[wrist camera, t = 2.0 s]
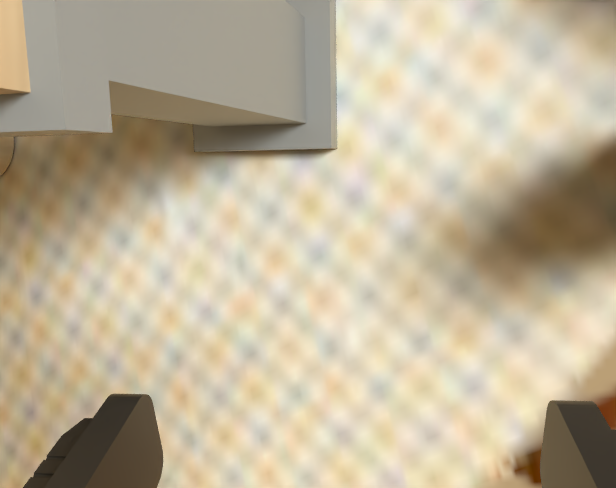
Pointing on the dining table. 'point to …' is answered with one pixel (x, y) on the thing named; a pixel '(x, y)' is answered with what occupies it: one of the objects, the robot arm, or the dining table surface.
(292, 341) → the dining table surface
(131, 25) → the pedestal
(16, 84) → the wooden t-shaped block
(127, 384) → the dining table surface
